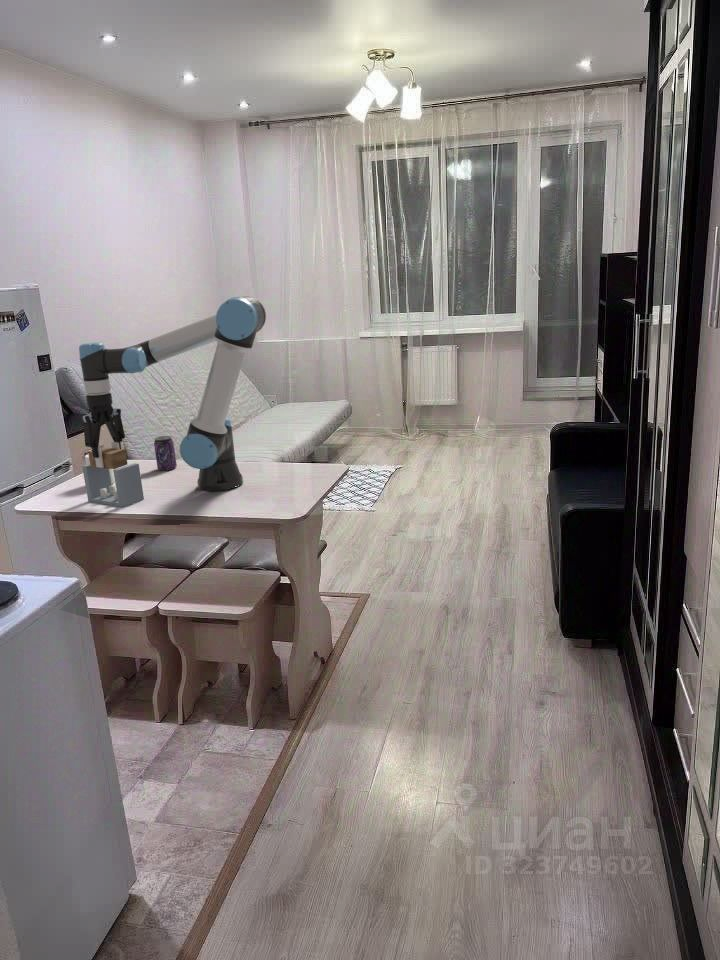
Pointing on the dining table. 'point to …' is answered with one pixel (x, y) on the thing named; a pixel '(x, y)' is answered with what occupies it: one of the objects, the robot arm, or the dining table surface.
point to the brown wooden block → (110, 458)
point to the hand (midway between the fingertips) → (109, 464)
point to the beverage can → (165, 453)
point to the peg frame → (107, 493)
